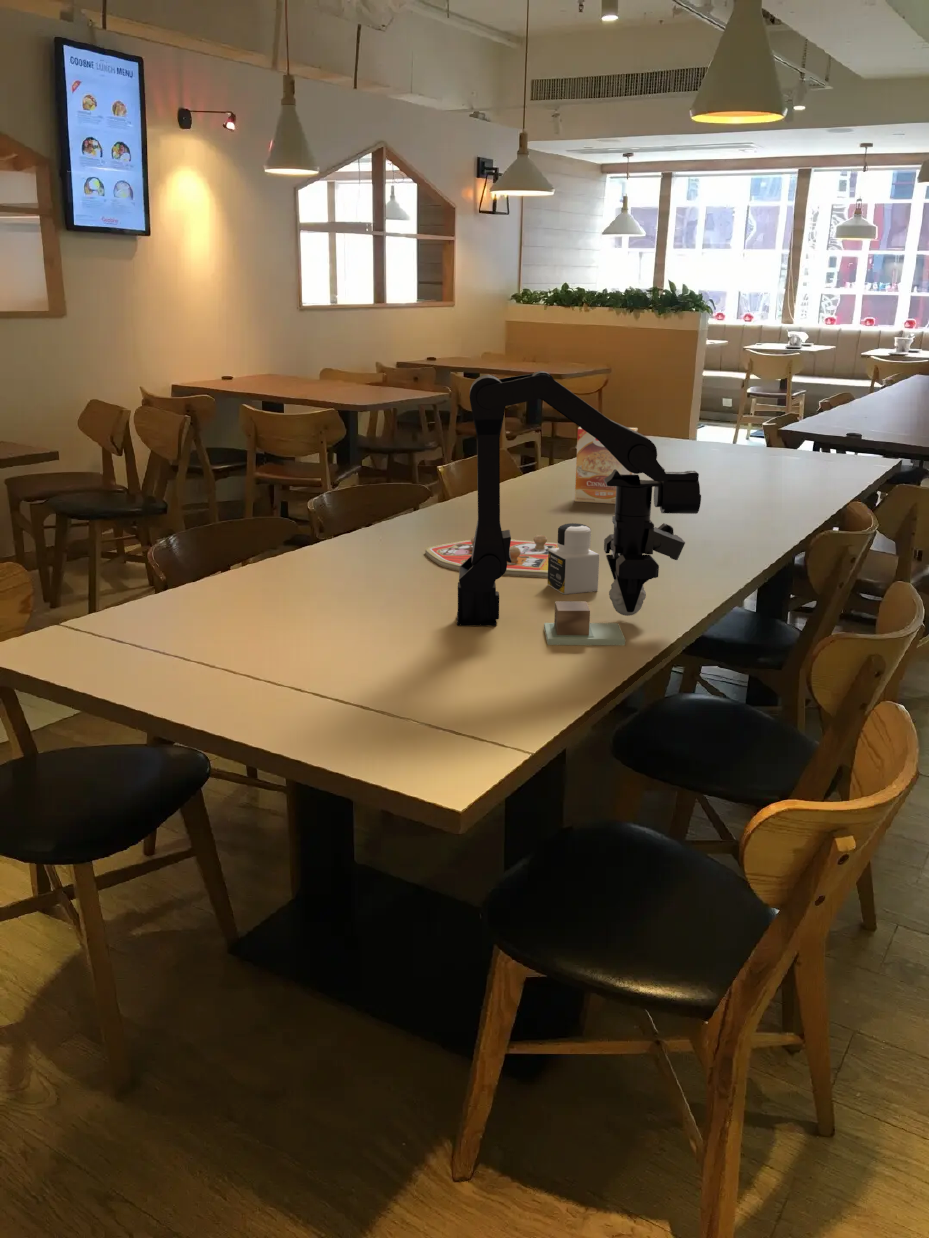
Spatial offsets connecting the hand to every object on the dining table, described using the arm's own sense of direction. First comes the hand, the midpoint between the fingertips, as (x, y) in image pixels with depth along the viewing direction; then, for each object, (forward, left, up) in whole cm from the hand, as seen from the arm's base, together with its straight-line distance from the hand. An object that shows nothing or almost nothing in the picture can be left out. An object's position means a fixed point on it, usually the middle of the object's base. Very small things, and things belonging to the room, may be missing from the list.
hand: (626, 605), depth 164 cm
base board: (-8, -8, -3) cm, 12 cm away
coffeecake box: (+10, +105, -3) cm, 106 cm away
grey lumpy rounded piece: (0, 0, -2) cm, 2 cm away
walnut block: (-10, -8, -2) cm, 13 cm away
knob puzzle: (-21, +43, -4) cm, 48 cm away
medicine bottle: (-7, +20, -3) cm, 21 cm away
